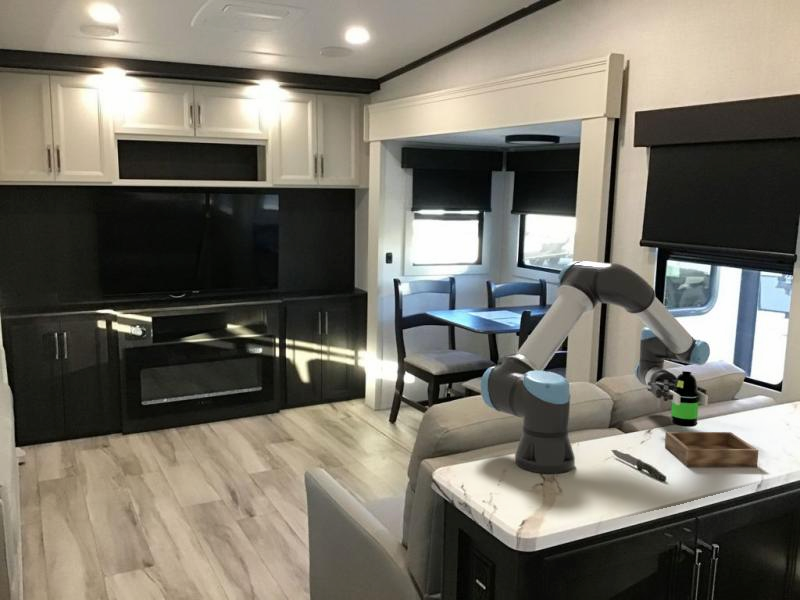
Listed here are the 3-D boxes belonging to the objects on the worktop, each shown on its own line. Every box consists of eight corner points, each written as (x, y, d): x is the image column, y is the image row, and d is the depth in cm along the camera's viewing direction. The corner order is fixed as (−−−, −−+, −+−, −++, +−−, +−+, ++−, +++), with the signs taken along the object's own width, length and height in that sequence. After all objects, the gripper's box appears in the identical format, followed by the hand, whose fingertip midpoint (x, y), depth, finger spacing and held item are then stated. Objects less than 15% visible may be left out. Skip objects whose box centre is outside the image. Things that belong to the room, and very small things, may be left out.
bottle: (678, 418, 205) (681, 368, 203) (702, 424, 199) (705, 372, 198) (665, 422, 200) (668, 371, 199) (689, 428, 195) (692, 376, 193)
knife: (608, 457, 187) (609, 446, 186) (612, 456, 187) (613, 445, 187) (663, 484, 168) (663, 472, 168) (667, 483, 168) (668, 471, 168)
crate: (686, 467, 178) (687, 450, 178) (664, 447, 193) (665, 432, 192) (757, 467, 178) (758, 450, 177) (729, 447, 193) (730, 432, 192)
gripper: (693, 393, 217) (727, 414, 194) (629, 393, 217) (656, 413, 194) (694, 370, 216) (729, 387, 194) (630, 369, 216) (657, 387, 194)
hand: (692, 400), depth 194 cm, fingers closed on bottle, 7 cm apart
